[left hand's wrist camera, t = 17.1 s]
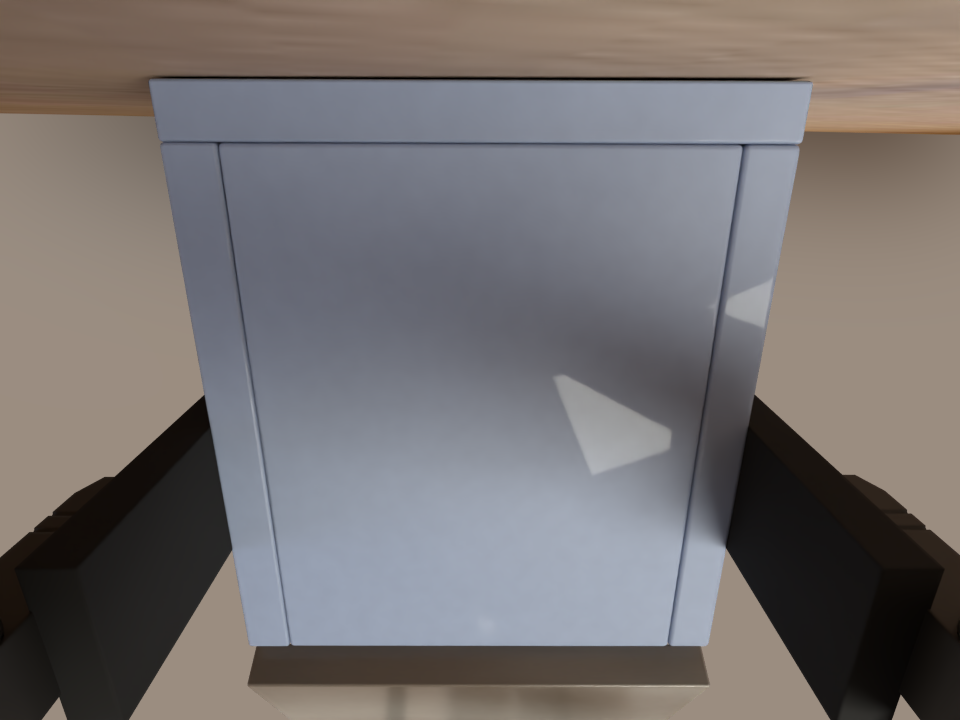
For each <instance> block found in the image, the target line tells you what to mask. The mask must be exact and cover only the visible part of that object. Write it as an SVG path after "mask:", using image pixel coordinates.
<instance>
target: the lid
mask: <svg viewBox="0 0 960 720" xmlns="http://www.w3.org/2000/svg"><path fill="white" fill-rule="evenodd" d="M248 687H250V688H251V689H252V690H253V691H255V692H256V693H257V694H258V695H260V696H261V697H262V698H264V699H265V700H266V701H267V702H269V703H270V704H271V705H272V706H274V707H275V708H276V709H277V710H279V711H280V712H281V713H282V714H284V715H285V716H286V717H288V718H289V719H290V720H667V719H669V718H670V717H671V716H673V715H674V714H675V713H677V712H678V711H679V710H680V709H682V708H683V707H684V706H686V705H687V704H688V703H689V702H691V701H692V700H693V699H694V698H696V697H697V696H698V695H700V694H701V693H702V692H703V691H705V690H706V689H707V688H709V687H710V683H709V678H708V674H707V670H706V666H705V661H704V657H703V653H702V649H701V646H671V645H665V646H294V645H292V644H289V645H288V646H257V647H256V651H255V655H254V659H253V663H252V667H251V672H250V676H249V680H248Z"/></svg>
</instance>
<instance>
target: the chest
mask: <svg viewBox="0 0 960 720" xmlns="http://www.w3.org/2000/svg"><path fill="white" fill-rule="evenodd" d="M812 86H813V83H812V82H810V81H705V80H448V79H190V78H152V79H150V80H149V88H150V93H151V99H152V104H153V110H154V116H155V121H156V127H157V132H158V138H159V140H160V141H162V142H163V143H161V145H160V148H161V154H162V159H163V165H164V170H165V176H166V182H167V187H168V193H169V198H170V204H171V210H172V215H173V221H174V226H175V232H176V237H177V243H178V249H179V254H180V260H181V266H182V271H183V277H184V282H185V288H186V294H187V299H188V305H189V310H190V316H191V322H192V327H193V333H194V338H195V344H196V349H197V355H198V361H199V366H200V372H201V378H202V383H203V389H204V394H205V400H206V406H207V411H208V417H209V422H210V427H211V433H212V438H213V444H214V450H215V455H216V461H217V466H218V472H219V477H220V483H221V488H222V494H223V499H224V505H225V510H226V516H227V521H228V527H229V532H230V538H231V543H232V551H233V557H234V562H235V568H236V574H237V579H238V585H239V590H240V596H241V601H242V607H243V613H244V618H245V624H246V630H247V635H248V641H249V645H250V646H288V645H289V644H290V642H291V644H292V645H294V646H665V645H667V641H668V643H669V645H671V646H706V645H707V644H708V642H709V637H710V631H711V626H712V621H713V615H714V610H715V604H716V599H717V594H718V588H719V583H720V577H721V572H722V566H723V561H724V556H725V550H726V545H727V540H728V534H729V529H730V523H731V518H732V513H733V507H734V502H735V496H736V491H737V486H738V480H739V475H740V469H741V464H742V458H743V453H744V447H745V442H746V436H747V431H748V426H749V421H750V415H751V410H752V405H753V399H754V394H755V388H756V383H757V378H758V372H759V367H760V361H761V356H762V350H763V345H764V340H765V334H766V329H767V324H768V318H769V313H770V307H771V302H772V297H773V291H774V286H775V280H776V275H777V270H778V264H779V259H780V253H781V248H782V242H783V237H784V232H785V226H786V221H787V216H788V210H789V205H790V199H791V194H792V188H793V183H794V178H795V172H796V167H797V162H798V156H799V147H798V146H797V145H795V144H799V143H801V142H802V140H803V135H804V130H805V124H806V119H807V113H808V108H809V103H810V97H811V92H812Z"/></svg>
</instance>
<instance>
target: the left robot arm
mask: <svg viewBox="0 0 960 720" xmlns="http://www.w3.org/2000/svg"><path fill="white" fill-rule="evenodd" d="M726 549H727V550H728V552H729V554H730V555H731V557H732V558H733V560H734V562H735V563H736V565H737V567H738V568H739V570H740V572H741V573H742V575H743V577H744V578H745V580H746V582H747V583H748V585H749V587H750V588H751V590H752V591H753V593H754V595H755V596H756V598H757V600H758V601H759V603H760V605H761V606H762V608H763V610H764V611H765V613H766V614H767V616H768V618H769V619H770V621H771V623H772V624H773V626H774V628H775V629H776V631H777V633H778V634H779V636H780V637H781V639H782V641H783V642H784V644H785V646H786V647H787V649H788V651H789V652H790V654H791V656H792V657H793V659H794V661H795V662H796V664H797V666H798V667H799V669H800V670H801V672H802V674H803V675H804V677H805V679H806V680H807V682H808V684H809V685H810V687H811V688H812V690H813V692H814V693H815V695H816V697H817V698H818V700H819V702H820V703H821V705H822V706H823V708H824V710H825V712H826V713H827V715H828V717H829V718H830V720H892V718H893V715H894V712H895V709H896V706H897V703H898V701H899V698H900V695H902V697H903V698H904V699H905V700H906V702H907V703H908V704H909V706H910V707H911V708H912V710H913V711H914V712H915V714H916V715H917V716H918V717H919V719H920V720H960V555H959V554H958V553H957V552H956V551H954V550H953V549H952V548H951V547H950V546H948V545H947V544H946V543H945V542H944V541H943V540H942V539H940V538H939V537H938V536H937V535H936V534H935V533H933V532H932V531H931V530H926V528H925V525H924V524H923V523H922V522H921V521H919V520H918V519H917V518H916V517H915V516H914V515H912V514H908V513H907V510H906V509H905V508H904V507H903V506H902V505H901V504H900V503H898V502H897V501H896V500H895V499H894V498H893V497H891V496H890V495H889V494H888V493H887V492H886V491H884V490H882V489H880V488H878V487H877V486H875V485H873V484H871V483H869V482H867V481H865V480H863V479H862V478H860V477H858V476H856V475H842V474H841V473H840V472H839V471H837V470H836V469H835V468H834V467H833V466H832V465H831V464H830V463H829V462H828V461H827V460H826V459H824V458H823V457H822V456H821V455H820V454H819V453H818V452H817V451H816V450H815V449H814V448H812V447H811V446H810V445H809V444H808V443H807V442H806V441H805V440H804V439H803V438H801V437H800V436H799V435H798V434H797V433H796V432H795V431H794V430H793V429H792V428H791V427H789V426H788V425H787V424H786V423H785V422H784V421H783V420H782V419H781V418H780V417H779V416H777V415H776V414H775V413H774V412H773V411H772V410H771V409H770V408H769V407H768V406H766V405H765V404H764V403H763V402H762V401H761V400H760V399H759V398H758V397H757V396H756V395H754V399H753V405H752V410H751V415H750V421H749V426H748V431H747V436H746V442H745V447H744V453H743V458H742V464H741V469H740V475H739V480H738V486H737V491H736V496H735V502H734V507H733V513H732V518H731V523H730V529H729V534H728V540H727V545H726ZM231 551H232V543H231V538H230V532H229V527H228V521H227V516H226V510H225V505H224V499H223V494H222V488H221V483H220V477H219V472H218V466H217V461H216V455H215V450H214V444H213V438H212V433H211V427H210V422H209V417H208V411H207V406H206V400H205V395H204V396H203V397H202V398H201V399H199V400H198V401H197V402H196V403H195V404H194V405H193V406H192V407H191V408H189V409H188V410H187V411H186V412H185V413H184V414H183V415H182V416H181V417H180V418H179V419H177V420H176V421H175V422H174V423H173V424H172V425H171V426H170V427H169V428H168V429H167V430H165V431H164V432H163V433H162V434H161V435H160V436H159V437H158V438H157V439H156V440H155V441H153V442H152V443H151V444H150V445H149V446H148V447H147V448H146V449H145V450H144V451H142V452H141V453H140V454H139V455H138V456H137V457H136V458H135V459H134V460H133V461H132V462H130V463H129V464H128V465H127V466H126V467H125V468H124V469H123V470H122V471H121V472H119V473H118V474H117V475H116V476H115V477H104V478H102V479H100V480H98V481H96V482H94V483H93V484H91V485H89V486H87V487H85V488H83V489H81V490H80V491H78V492H76V493H74V494H73V495H72V496H71V497H70V498H68V499H67V500H66V501H65V502H64V503H63V504H62V505H60V506H59V507H58V508H57V509H56V510H55V511H53V515H52V516H48V517H46V518H45V519H44V520H43V521H42V522H41V523H40V524H38V525H37V526H36V527H35V528H34V532H29V533H28V534H27V535H26V536H25V537H23V538H22V539H21V540H20V541H19V542H18V543H16V544H15V545H14V546H13V547H12V548H11V549H10V550H8V551H7V552H6V553H5V554H4V555H3V556H1V557H0V720H42V719H43V717H44V716H45V714H46V713H47V712H48V711H49V709H50V708H51V707H52V705H53V704H54V703H55V701H56V700H57V699H58V697H59V698H60V700H61V703H62V706H63V709H64V712H65V715H66V717H67V720H129V719H130V717H131V715H132V714H133V712H134V710H135V709H136V707H137V705H138V704H139V702H140V700H141V699H142V697H143V696H144V694H145V692H146V691H147V689H148V687H149V686H150V684H151V682H152V681H153V679H154V677H155V676H156V674H157V673H158V671H159V669H160V668H161V666H162V664H163V663H164V661H165V659H166V658H167V656H168V654H169V653H170V651H171V650H172V648H173V646H174V645H175V643H176V641H177V640H178V638H179V636H180V635H181V633H182V631H183V630H184V628H185V626H186V625H187V623H188V622H189V620H190V618H191V617H192V615H193V613H194V612H195V610H196V608H197V607H198V605H199V603H200V602H201V600H202V599H203V597H204V595H205V594H206V592H207V590H208V589H209V587H210V585H211V584H212V582H213V580H214V579H215V577H216V576H217V574H218V572H219V571H220V569H221V567H222V566H223V564H224V562H225V561H226V559H227V557H228V556H229V554H230V552H231Z"/></svg>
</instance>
